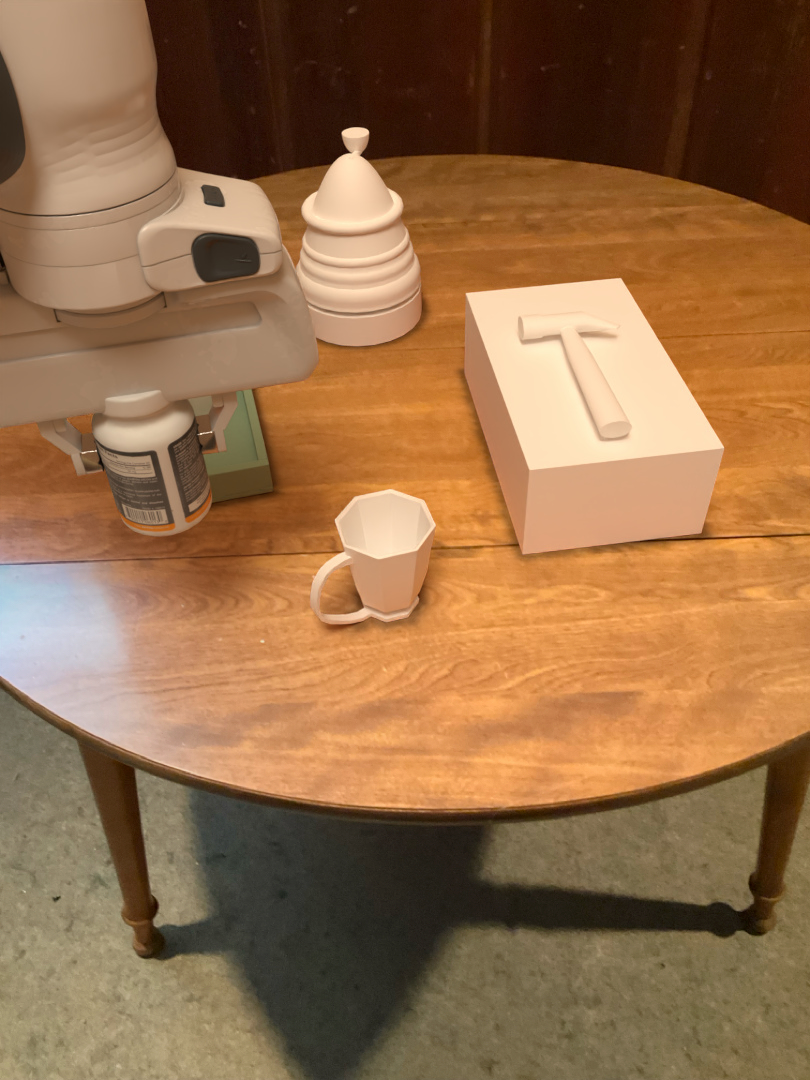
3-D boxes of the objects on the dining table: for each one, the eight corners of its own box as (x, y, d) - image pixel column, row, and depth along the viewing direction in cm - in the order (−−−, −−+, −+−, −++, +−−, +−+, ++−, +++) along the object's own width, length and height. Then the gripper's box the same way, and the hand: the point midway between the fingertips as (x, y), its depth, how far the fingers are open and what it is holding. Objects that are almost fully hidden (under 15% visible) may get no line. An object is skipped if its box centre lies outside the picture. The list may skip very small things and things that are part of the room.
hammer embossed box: (609, 357, 91) (624, 254, 83) (701, 533, 73) (731, 422, 65) (464, 372, 90) (466, 269, 82) (522, 554, 72) (531, 444, 64)
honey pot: (324, 276, 104) (307, 110, 91) (435, 289, 101) (433, 120, 88) (282, 337, 95) (257, 162, 83) (402, 353, 92) (395, 175, 80)
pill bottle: (184, 467, 60) (153, 334, 53) (231, 513, 57) (204, 377, 50) (103, 505, 57) (59, 371, 50) (148, 555, 54) (108, 419, 47)
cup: (456, 604, 69) (457, 525, 63) (347, 674, 64) (338, 596, 59) (397, 552, 73) (393, 474, 67) (291, 615, 68) (277, 537, 63)
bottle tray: (273, 491, 78) (269, 464, 76) (159, 512, 77) (151, 485, 75) (237, 333, 96) (232, 307, 94) (143, 348, 94) (136, 322, 92)
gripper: (-147, 295, 41) (-37, 524, 50) (312, 236, 44) (333, 461, 54) (-125, 232, 45) (-28, 453, 55) (291, 182, 48) (313, 399, 58)
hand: (154, 457), depth 54 cm, fingers closed on pill bottle, 6 cm apart
